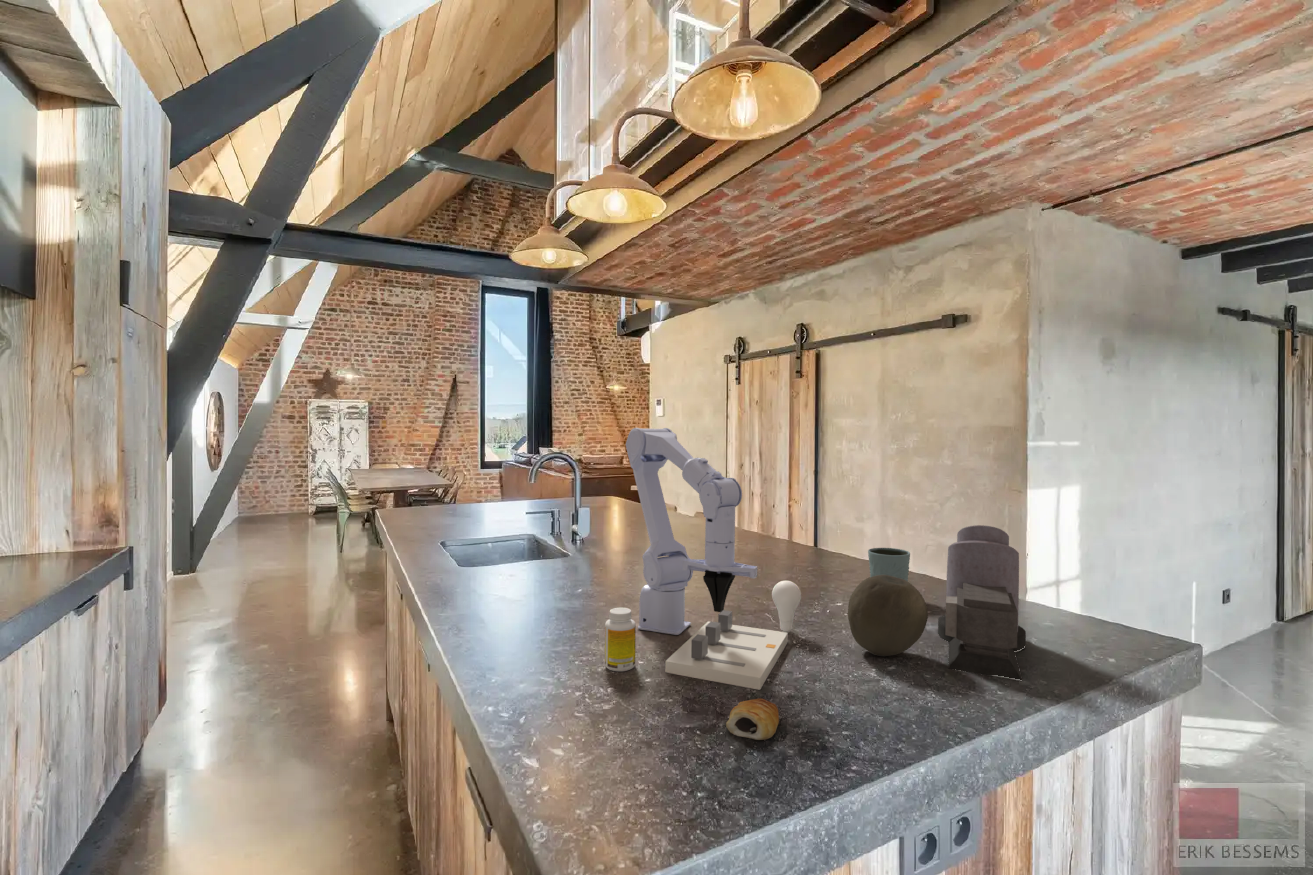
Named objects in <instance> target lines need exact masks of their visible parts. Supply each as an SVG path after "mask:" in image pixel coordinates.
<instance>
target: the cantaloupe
mask: <svg viewBox="0 0 1313 875" xmlns="http://www.w3.org/2000/svg"><path fill="white" fill-rule="evenodd" d="M849 597H850V598H849V600H848V607H847V620H848V623H849V624H848V625H849V629H850V633H851V636H852V637H853V639H854V640H855V641H856V643H857V644H858V645H859V646H860V647H862V648H863V649H865V650H866V651H867V652H869V653H870V654H872V655H875V656H878V657H890V656H891V657H892V656H895V655H899V654H901V653H903V652H905V651H907V650H908V649H910V648H911V647H912V646H913V645H914V644H916V643H917V642H918V640H919V639H920V638H921V637H922V635H923V633H924V631H925V628H926V626H927V623H928V617H929V612H928V606H927V604H926V601H925V599H924V597H923V595H922V594H921V592H920V591H919V590H918V588H917V587H915V586H914V585H913V584H912V583H911V582H909V581H908V582H907V581H906V580H904V579H901V578H897V577H894V576H889V575H876V576H873V577H870V576H869V577H866V579H864V580H862V581H861V582H859V584H857V586H856V587H855V589H853V592H851V595H850V596H849Z"/></svg>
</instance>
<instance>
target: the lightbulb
mask: <svg viewBox="0 0 1313 875" xmlns="http://www.w3.org/2000/svg"><path fill="white" fill-rule="evenodd" d="M771 597H772V601H773V603H774V606H775V607H776V610H777V613H778V621H779V628H780V630H781V631H782V632H786V633H789V632H790V631H792V630H793V622H794V620H795V612H796V610H797V608H798V606H799V605H800V603H801V599H802V591H801V589H800V588H799V586H798V585H797V584H796V583H795V582H793V581H791V580H781V581H778V583H777V582H776V584H775V585H774V587H773V589H772V591H771Z"/></svg>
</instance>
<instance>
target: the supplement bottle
mask: <svg viewBox="0 0 1313 875" xmlns="http://www.w3.org/2000/svg"><path fill="white" fill-rule="evenodd" d="M608 617H609V618H608V619H607V620H606V621H605V624H604V666H605V667H606V668H607V669H608V670H610V671H613V672H618V673H619V672H627V671H629V670H632V669H634V667H635V665H636V629H637V628H636V627H637V626H636V621H635V620H634V619H632V617H633V616H632V609H630V608H628V607H614V608H611V609H610V610H609V615H608Z"/></svg>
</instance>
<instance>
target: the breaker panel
mask: <svg viewBox="0 0 1313 875" xmlns="http://www.w3.org/2000/svg"><path fill="white" fill-rule="evenodd" d="M710 622H711V621H709V620H707V622H705V624H704V625H702V626H701V627H700V628H699V629H698V630H697V631H696V632H695V633H694V634H693V635H691V637H689V639H687V641H685V642H684V643H683V644H682V645H680V647H679V648H678V649H677V650H676V651H675V652H673V653H672V654H671V655H670V656H669V657H668V658H667V659H666V660H665V664H664V665H665V667H664V668H665V670H664V671H665V673H667V674H672V675H678V676H683V677H689V678H695V679H699V680H705V681H711V682H715V683H721V684H727V685H731V686H732V685H733V686H737V687H742V688H747V689H754V690H759V691H760V690H761V689H762V687H763V685H764V684H765V682H766V680H767V678H768V677H769V675H770V674H771V673H772V672H771V671H772V670H773V668H774V666H775V665H776V664H777V662H778V660H779V659H780V657H781V654H782V653H783V651H784V649H785V648H786V646H787V645H788V643H789V637H788V636H789V632H787V633H786V632H784V631H779V630H772V629H766V628H757V627H750V626H746V625H745V626H743V625H737V624H732V627H731V628H730V630H729V631H721V634H720V640H719V641H718V642H717V643H716V645H715V644H708V654H707V655H706V656H705V657H704V658H703V659H702V660H701V659H695V658H691V646H692V639H693V638H694V637H695V636H696V635H697V634H699V635H706V625H708V624H709V623H710Z"/></svg>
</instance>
